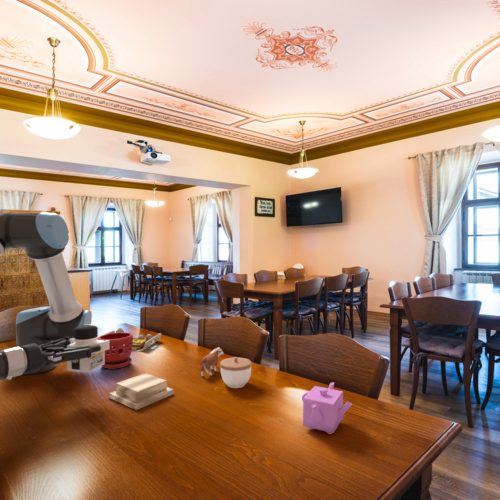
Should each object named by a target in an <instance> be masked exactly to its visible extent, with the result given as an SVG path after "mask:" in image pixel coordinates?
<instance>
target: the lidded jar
mask: <svg viewBox="0 0 500 500" xmlns="http://www.w3.org/2000/svg"><path fill="white" fill-rule="evenodd" d="M252 363H253V362H252V361H251V360H250V359H249V358H244V357H239V356H238V357H237V356H234V357H228V358H225V359H222V360H221V361H220V362H219V367H220V375H221V378H222V381H223V382H224V383H225V385H227V387H228V388H230V389H239V388H240V389H241V388H244V387H245V385H246V384H247V383H248V382H249V380H250V378H251V374H252Z"/></svg>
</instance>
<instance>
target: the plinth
mask: <svg viewBox="0 0 500 500" xmlns="http://www.w3.org/2000/svg"><path fill="white" fill-rule="evenodd" d="M167 384H168V380H166V379H164V378H161V377H157V376H155V375H152V374H149V373H146V372H145V373H141V374H139V375H135V376H133V377H130V378H126V379H124V380H122V381H118V382H116V383H115V390H114V391H111V392H108V399H111V400H114V401H115V402H117V403H119V404H122V405H123V406H126V407H129V408H131V409H132V410H135V411H138V410H140V409H142V408H145V407H147V406H149V405H152V404H154V403H157V402H158V401H161V400H163V399H165V398H168V397H170V396H172V395H174V389H173V388H170V387H168V385H167Z"/></svg>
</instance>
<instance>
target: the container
mask: <svg viewBox="0 0 500 500" xmlns="http://www.w3.org/2000/svg"><path fill="white" fill-rule="evenodd" d="M98 328H99V327H98V326H97V325H96V324H93V323H91V324H85V325H80V326H77V327H76V328H75V329H74V341H75V343H72V344H70V345H68V346H67V348H75V347H85V346H88V345H90V344H94V343H98V342H102V341H104V340H97V339H98V337H99V336H98V335H99V332H98V331H99V329H98ZM104 364H105V351H101V352H97V353H93V354H91V357H90V358H82V359H77V360H71V361H66V365H67V371H68V372H78V373H91V372H93V371H95V370H97V369H99V368H100V367H102V365H104Z"/></svg>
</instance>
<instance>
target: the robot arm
mask: <svg viewBox="0 0 500 500" xmlns="http://www.w3.org/2000/svg"><path fill="white" fill-rule="evenodd" d="M69 233H70V232H69V229H68V225H67V223H66V221H65V219H64V218H63V216H61V215H60V214H57V213H55V212H46V211H41V212H14V211H13V212H12V211H11V212H5V213H4V212H3V213H1V214H0V257H1V256H2V255H3V254H4V253H5V251H7V250H11V249H24V251H25V253H26V256H27V258H29V259H31V260H34V264H35V266H36V268H37V271H38V275H39V277H40V280H41V283H42V285H43V288H44V292H45V294H46V297H47V300H48V303H49V306H39V307H35V308H29V309H25V310H22V311H19V312H18V313H17V314H16V316H15V318H16V319H15V339H16V340H15V342H16V343H15V344H16V345H15V346H14V347H9V348H5V349H0V381H4V380H8V381H10V380H12V378H15V377H18V376H23V375H24V376H25V375H36V374H40V373H43V372H47V371H51V370H52V369H54V368H56V367H57V364H61V363H65V362H66V363H67V361H71V360H77V359H82V358H90V357H91V354H93V353H97V352H101V351H105V350H108V349H110V345H109V340H106V341H102V342H98V343H94V344H90V345H88V346H85V347H75V348H67V346H68V345H70V344H72V343H75V341H74V329H75V328H76V327H77V326H80V325H85V324H92V319H93V318H92V317H93V316H92V315H93V314H92V311H90V310H88V309H85V310H84V308H83V305H82V303H81V302H79V301H77V299H76V296H75V293H74V289H73V285H72V282H71V279H70V276H69V272H68V269H67V265H66V262H65V257H64V256H63V255H64V254H63V252H64V251H65V249H66V246H67V245H68V243H69V240H70V236H69Z"/></svg>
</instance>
